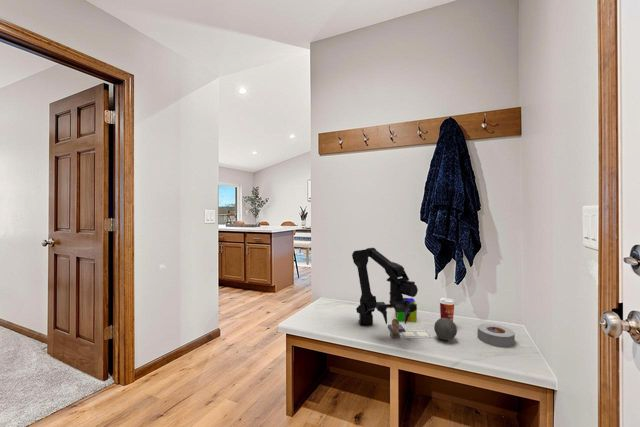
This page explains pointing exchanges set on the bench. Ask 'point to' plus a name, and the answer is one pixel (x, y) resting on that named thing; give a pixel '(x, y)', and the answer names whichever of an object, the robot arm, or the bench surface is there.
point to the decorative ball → (445, 329)
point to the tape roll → (496, 335)
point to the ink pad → (399, 328)
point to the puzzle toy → (411, 317)
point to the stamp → (395, 330)
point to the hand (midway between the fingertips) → (395, 323)
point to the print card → (416, 334)
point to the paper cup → (447, 308)
